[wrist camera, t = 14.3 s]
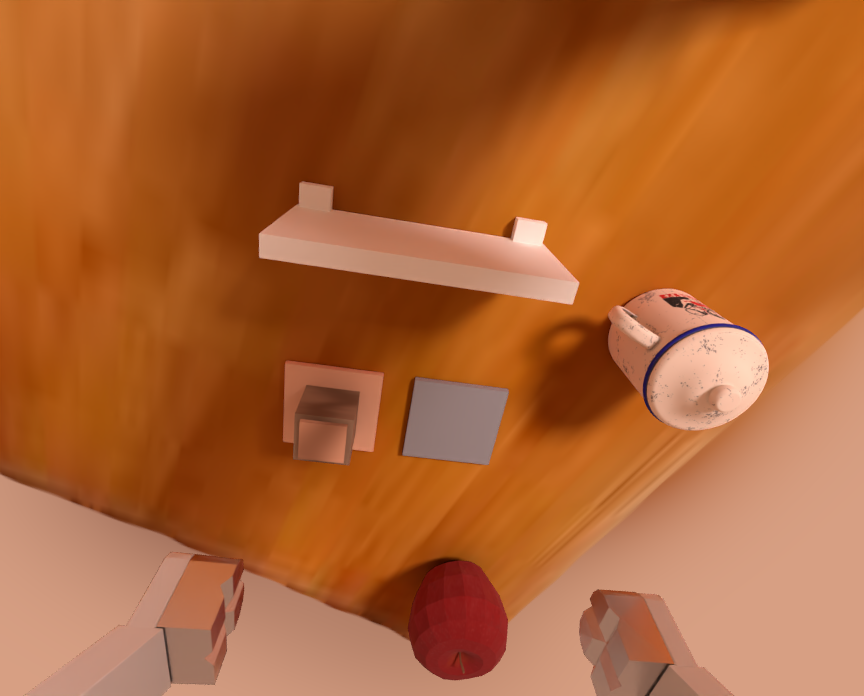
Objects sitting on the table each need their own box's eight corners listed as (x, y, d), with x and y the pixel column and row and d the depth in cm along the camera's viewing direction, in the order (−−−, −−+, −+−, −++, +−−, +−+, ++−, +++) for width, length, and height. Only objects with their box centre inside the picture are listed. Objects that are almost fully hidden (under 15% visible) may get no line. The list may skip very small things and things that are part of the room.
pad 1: (383, 372, 44) (383, 376, 43) (373, 448, 48) (373, 451, 47) (286, 360, 43) (285, 363, 43) (284, 438, 47) (282, 441, 46)
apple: (449, 525, 53) (457, 626, 43) (517, 564, 56) (539, 666, 46) (391, 576, 57) (385, 681, 46) (457, 610, 60) (465, 715, 50)
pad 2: (507, 388, 45) (508, 392, 45) (487, 461, 49) (488, 464, 49) (415, 376, 44) (415, 380, 44) (402, 451, 48) (402, 455, 48)
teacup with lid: (725, 316, 42) (826, 383, 32) (654, 389, 46) (724, 472, 35) (627, 247, 39) (703, 297, 29) (559, 331, 42) (604, 403, 32)
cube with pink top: (360, 391, 44) (353, 423, 40) (355, 434, 46) (348, 468, 42) (306, 384, 44) (293, 416, 39) (304, 428, 46) (292, 462, 41)
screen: (548, 222, 38) (587, 256, 29) (532, 280, 40) (564, 328, 31) (298, 180, 36) (259, 203, 27) (296, 244, 38) (259, 284, 29)
